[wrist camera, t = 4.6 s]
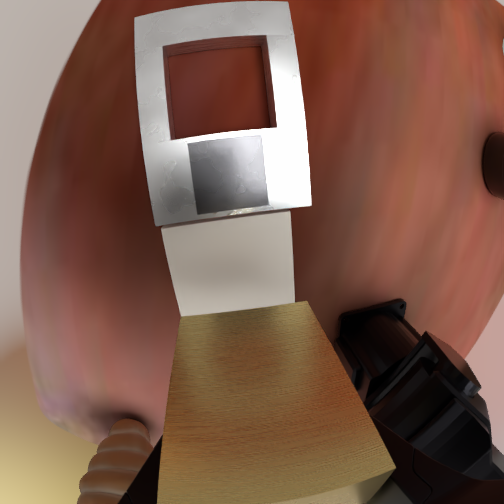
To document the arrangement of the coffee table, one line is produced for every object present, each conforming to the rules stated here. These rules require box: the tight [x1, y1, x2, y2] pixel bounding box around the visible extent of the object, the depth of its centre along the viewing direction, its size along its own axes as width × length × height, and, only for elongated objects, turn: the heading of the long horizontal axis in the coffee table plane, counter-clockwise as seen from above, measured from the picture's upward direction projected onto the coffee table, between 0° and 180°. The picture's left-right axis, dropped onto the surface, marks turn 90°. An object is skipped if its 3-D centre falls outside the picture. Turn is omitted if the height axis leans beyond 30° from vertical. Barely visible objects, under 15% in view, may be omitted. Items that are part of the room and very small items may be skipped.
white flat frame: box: [135, 1, 311, 226], centre depth 14 cm, size 9×13×2 cm
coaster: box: [161, 209, 295, 316], centre depth 19 cm, size 8×8×1 cm
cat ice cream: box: [77, 419, 154, 504], centre depth 16 cm, size 9×8×18 cm
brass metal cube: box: [157, 301, 396, 504], centre depth 8 cm, size 5×5×7 cm
